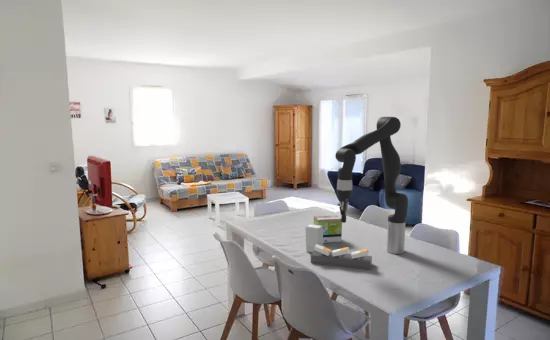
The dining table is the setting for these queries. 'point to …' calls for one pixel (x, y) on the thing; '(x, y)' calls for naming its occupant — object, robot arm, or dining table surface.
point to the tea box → (330, 227)
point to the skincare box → (313, 237)
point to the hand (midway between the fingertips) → (343, 222)
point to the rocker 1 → (322, 249)
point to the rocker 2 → (340, 251)
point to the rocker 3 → (359, 253)
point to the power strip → (342, 260)
